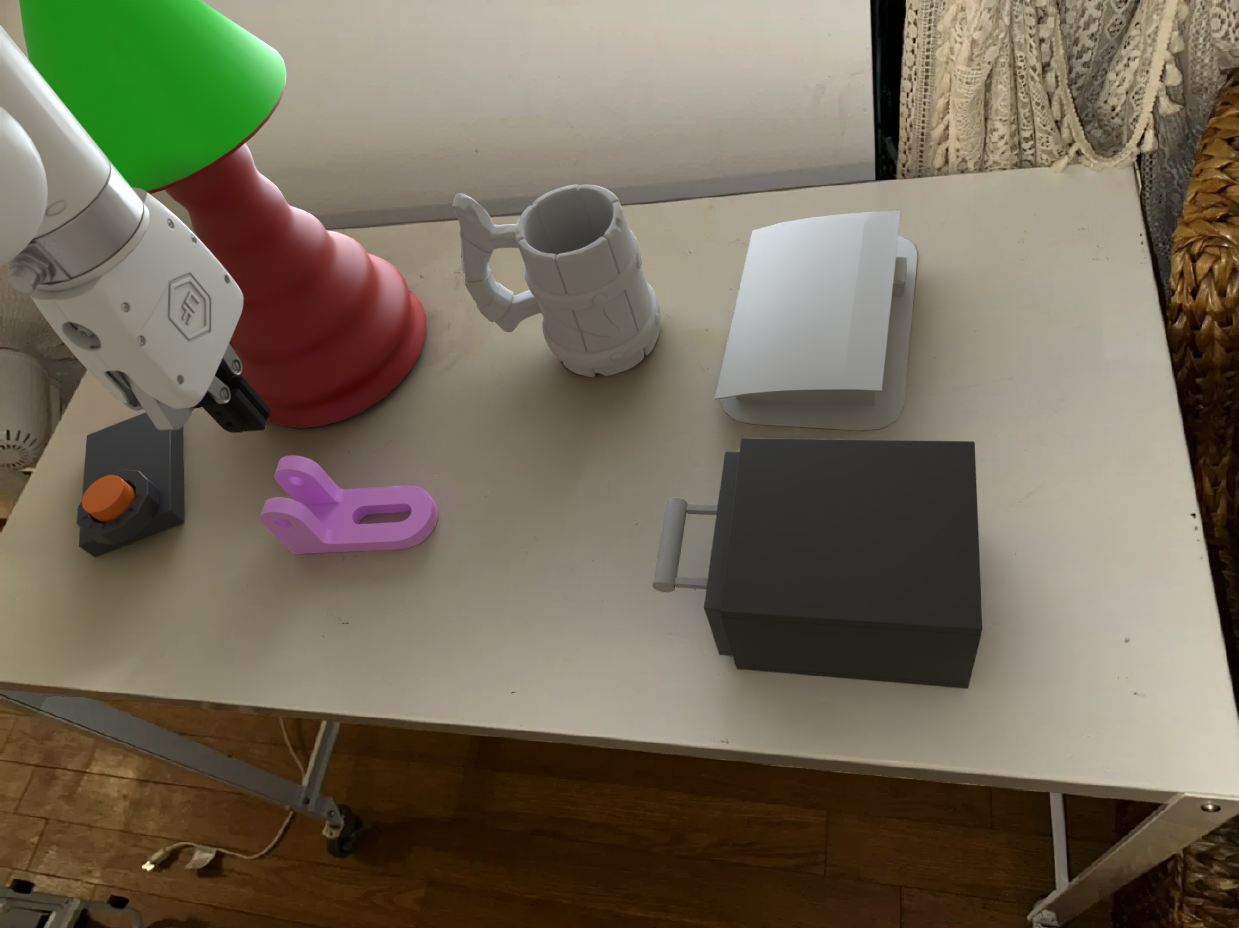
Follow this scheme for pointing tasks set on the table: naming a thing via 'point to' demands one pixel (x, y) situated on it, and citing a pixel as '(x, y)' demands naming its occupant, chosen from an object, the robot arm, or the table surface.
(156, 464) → the control block
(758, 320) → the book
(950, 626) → the dark grey drawer cabinet
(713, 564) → the dark grey drawer
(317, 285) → the table lamp
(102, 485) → the button
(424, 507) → the bracket
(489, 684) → the table surface
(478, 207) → the mug
